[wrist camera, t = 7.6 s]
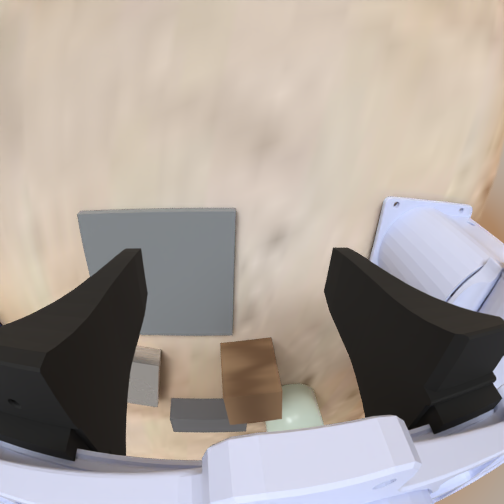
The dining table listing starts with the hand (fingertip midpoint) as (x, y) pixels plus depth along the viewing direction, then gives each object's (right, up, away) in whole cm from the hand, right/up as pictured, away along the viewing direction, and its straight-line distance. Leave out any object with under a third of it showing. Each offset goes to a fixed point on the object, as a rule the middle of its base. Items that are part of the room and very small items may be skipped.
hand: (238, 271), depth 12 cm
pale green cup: (+5, -16, +21) cm, 27 cm away
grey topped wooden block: (-11, -10, +17) cm, 23 cm away
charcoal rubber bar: (-4, -16, +21) cm, 27 cm away
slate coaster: (-6, -1, +11) cm, 13 cm away
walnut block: (0, -9, +17) cm, 19 cm away
